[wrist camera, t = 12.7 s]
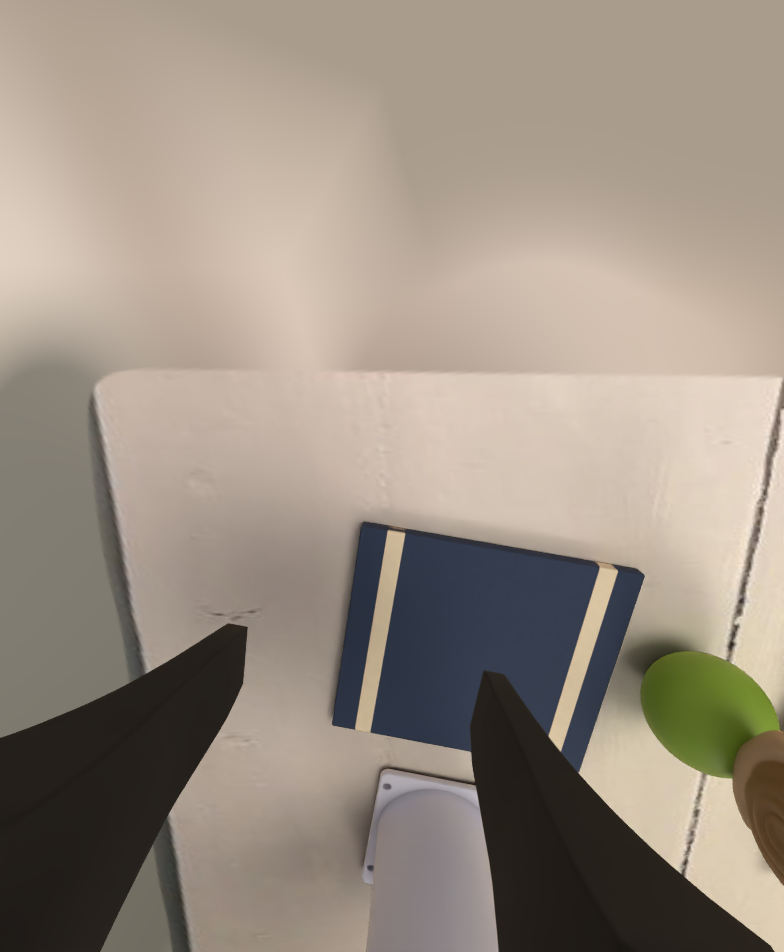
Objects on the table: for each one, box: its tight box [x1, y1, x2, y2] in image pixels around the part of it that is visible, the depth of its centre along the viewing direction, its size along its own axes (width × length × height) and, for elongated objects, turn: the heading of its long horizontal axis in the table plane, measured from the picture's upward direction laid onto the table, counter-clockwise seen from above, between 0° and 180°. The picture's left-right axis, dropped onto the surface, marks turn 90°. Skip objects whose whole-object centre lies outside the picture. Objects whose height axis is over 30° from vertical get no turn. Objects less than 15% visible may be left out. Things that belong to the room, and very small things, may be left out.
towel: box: [332, 522, 645, 772], centre depth 23 cm, size 13×15×1 cm
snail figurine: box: [641, 651, 784, 885], centre depth 17 cm, size 5×6×12 cm
